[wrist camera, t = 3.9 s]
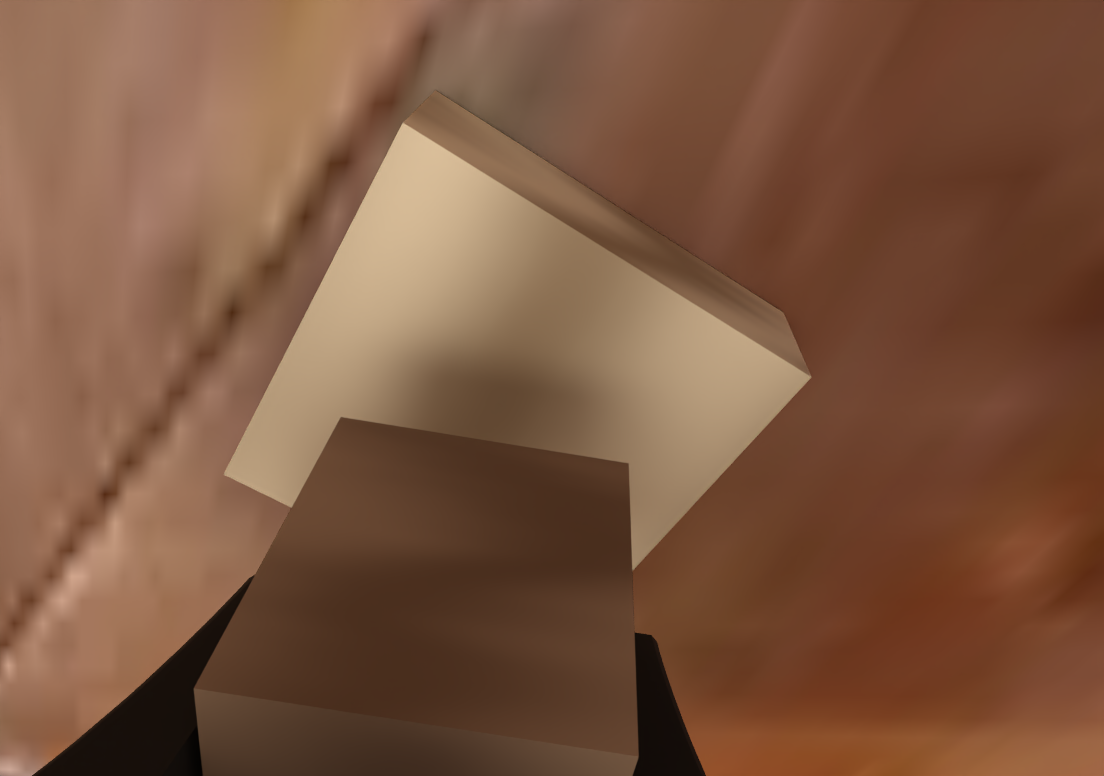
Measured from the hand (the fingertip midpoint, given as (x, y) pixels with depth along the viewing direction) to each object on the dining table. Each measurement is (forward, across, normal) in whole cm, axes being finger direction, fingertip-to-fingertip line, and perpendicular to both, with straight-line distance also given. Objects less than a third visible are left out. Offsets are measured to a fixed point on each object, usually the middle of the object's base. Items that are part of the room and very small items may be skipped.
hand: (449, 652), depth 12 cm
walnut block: (+2, 0, 0) cm, 2 cm away
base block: (+9, 0, 0) cm, 9 cm away
